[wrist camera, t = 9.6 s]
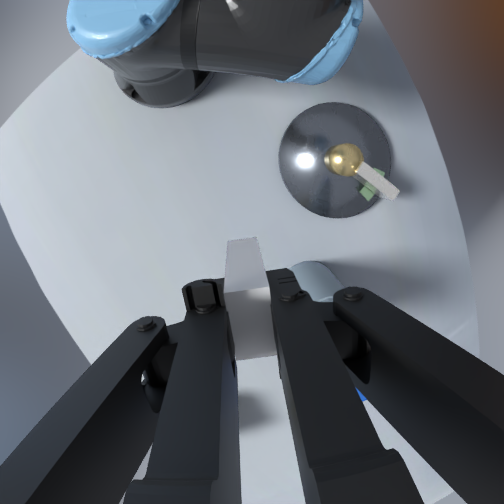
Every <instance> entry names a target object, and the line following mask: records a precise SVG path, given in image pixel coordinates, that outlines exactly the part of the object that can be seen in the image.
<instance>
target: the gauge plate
mask: <svg viewBox="0 0 504 504" xmlns="http://www.w3.org/2000/svg"><path fill="white" fill-rule="evenodd" d="M345 143H350V144H354V145H356V146H357V147H358V148H359V149H360V150H361V152H362V154H363V157H364V162H365V163H366V164H367V165H369V166H370V167H371V168H373V169H374V170H375V171H376V172H378V173H379V174H380V175H381V176H383V177H384V178H385V179H386V180H388V178H389V174H390V167H391V158H390V151H389V147H388V143H387V141H386V138H385V136H384V134H383V132H382V130H381V129H380V127H379V126H378V125H377V123H376V122H375V121H374V120H373V119H372V118H371V117H370V116H369V115H367V114H366V113H365V112H363V111H362V110H360V109H358V108H356V107H354V106H351V105H348V104H344V103H336V102H331V103H323V104H318V105H315V106H312V107H311V108H309V109H307V110H305V111H304V112H302V113H301V114H299V115H298V116H297V117H296V118H295V119H294V120H293V121H292V122H291V123H290V125H289V126H288V128H287V129H286V131H285V133H284V135H283V137H282V140H281V144H280V148H279V168H280V173H281V176H282V179H283V181H284V184H285V186H286V188H287V189H288V191H289V192H290V194H291V195H292V196H293V198H294V199H295V200H296V201H297V202H298V203H300V204H301V205H302V206H303V207H305V208H306V209H308V210H310V211H311V212H313V213H315V214H318V215H320V216H324V217H329V218H346V217H350V216H354V215H357V214H359V213H361V212H363V211H365V210H366V209H368V208H369V207H370V206H371V205H373V204H374V203H375V202H376V201H377V199H378V198H379V196H377V195H376V194H375V193H374V192H372V191H371V190H370V189H368V188H367V187H366V186H364V185H363V184H362V183H360V182H359V181H358V180H356V179H355V178H354V177H352V176H341V175H335V174H333V173H331V172H330V171H329V170H328V169H327V167H326V165H325V161H324V158H325V154H326V152H327V150H328V149H329V148H330V147H332V146H334V145H338V144H345Z"/></svg>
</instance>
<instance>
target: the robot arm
mask: <svg viewBox="0 0 504 504" xmlns="http://www.w3.org/2000/svg"><path fill="white" fill-rule="evenodd" d="M362 16H363V0H70V2H69V5H68V9H67V27H68V30H69V33H70V35H71V37H72V38H73V39H74V41H75V42H76V43H77V44H78V45H80V47H81V48H82V50H83V51H84V52H85V53H86V54H88V55H90V56H91V57H92V56H93V57H94V58H96V59H98V60H99V61H101V62H102V63H104V64H105V65H106V66H108V67H109V68H111V69H112V70H113V71H114V76H115V79H116V82H117V84H118V86H119V87H120V89H121V90H122V91H123V92H124V93H125V94H126V95H127V96H128V97H129V98H131V99H132V100H134V101H136V102H137V103H139V104H141V105H144V106H148V107H152V108H168V107H173V106H177V105H180V104H182V103H185V102H187V101H189V100H190V99H192V98H194V97H195V96H196V95H198V94H199V93H200V92H201V91H202V90H203V89H204V88H205V87H206V86H207V85H208V83H209V82H210V80H211V79H212V77H213V75H214V72H224V73H233V74H242V75H250V76H257V77H264V78H271V79H275V80H276V81H277V82H281V83H284V82H295V83H302V84H308V85H315V84H320V83H323V82H326V81H327V80H329V79H330V78H332V77H333V76H334V75H335V74H336V73H337V72H338V71H339V69H340V68H341V67H342V65H343V64H344V63H345V61H346V59H347V58H348V56H349V54H350V52H351V50H352V48H353V46H354V44H355V41H356V39H357V36H358V33H359V30H358V26H359V24H360V23H361V21H362ZM182 293H183V297H184V302H185V306H186V310H187V312H186V316H185V319H184V321H182V322H179V323H176V324H173V325H169V326H166V323H165V320H164V319H163V318H161V317H157V316H151V317H150V316H146V317H145V318H144V317H142V318H140V319H139V320H137V321H134V322H133V323H132V324H130V325H129V326H128V327H127V328H126V329H125V330H124V332H123V333H122V334H121V335H120V336H119V337H118V338H117V339H116V340H115V341H114V342H113V343H112V344H111V345H110V346H109V347H108V348H107V349H106V350H105V351H104V352H103V353H102V354H101V355H100V357H99V358H98V359H97V360H96V361H95V362H94V363H93V364H92V365H91V366H90V367H89V368H88V369H87V370H86V371H85V372H84V373H83V375H82V376H81V377H80V378H79V379H78V380H77V381H76V382H75V383H74V384H73V385H72V386H71V387H70V389H69V390H68V391H67V392H66V393H65V394H64V395H63V396H62V397H61V398H60V399H59V401H58V402H57V403H56V404H55V405H54V406H53V407H52V408H51V409H50V410H49V411H48V413H47V414H46V415H45V416H44V417H43V418H42V419H41V420H40V421H39V423H38V424H37V425H36V426H35V427H34V428H33V429H32V430H31V432H30V433H29V434H28V435H27V436H26V437H25V438H24V440H23V441H22V442H21V443H20V444H19V445H18V446H17V448H16V449H15V450H14V451H13V452H12V453H11V454H10V456H9V457H8V458H7V459H6V460H5V461H4V463H3V464H2V465H1V466H0V504H119V502H120V500H121V499H122V497H123V495H124V493H125V492H126V494H125V497H124V502H123V504H242V500H241V476H240V449H239V418H238V382H237V365H236V361H238V360H246V359H253V358H261V357H268V356H274V355H277V357H278V365H279V374H280V379H282V384H283V389H284V394H285V400H286V405H287V410H288V415H289V420H290V425H291V430H292V435H293V440H294V445H295V450H296V456H297V461H298V466H299V471H300V476H301V481H302V486H303V492H304V497H305V502H306V504H424V502H423V500H422V498H421V496H420V494H419V491H418V489H417V487H416V485H415V483H414V481H413V479H412V477H411V475H410V472H409V470H408V468H407V466H406V464H405V462H404V460H403V458H402V457H401V455H400V454H399V452H398V451H396V450H395V449H394V448H392V449H389V450H386V449H385V448H384V447H383V445H382V443H381V441H380V439H379V437H378V435H377V432H376V430H375V428H374V426H373V424H372V422H371V419H370V417H369V415H368V413H367V411H366V409H365V407H364V404H363V402H362V400H361V398H360V396H359V394H358V392H357V390H356V388H357V389H358V390H359V391H360V392H361V394H362V395H363V396H364V397H365V398H366V399H367V400H368V401H369V402H370V403H371V404H372V405H373V406H374V407H375V408H376V409H377V410H378V412H379V413H380V414H381V415H382V416H383V417H384V418H385V419H386V420H387V421H388V422H389V423H390V424H391V425H392V426H393V427H394V428H395V429H396V431H397V432H398V433H399V434H400V435H401V436H402V437H403V438H404V439H405V440H406V441H407V442H408V443H409V444H410V445H411V446H412V447H413V448H414V449H415V450H416V451H417V452H418V453H419V455H420V456H421V457H422V458H423V459H424V460H425V461H426V462H427V463H428V464H429V465H430V466H431V467H432V468H433V469H434V470H435V471H436V472H437V473H438V474H439V475H440V476H441V477H442V478H443V479H444V480H445V481H446V482H447V483H448V484H449V485H450V486H451V488H452V489H453V490H454V491H455V492H456V493H457V494H458V495H459V496H460V497H462V498H463V500H464V501H465V502H466V503H467V504H504V375H503V374H501V373H500V372H498V371H497V370H495V369H494V368H492V367H490V366H489V365H488V364H486V363H484V362H483V361H481V360H480V359H478V358H477V357H475V356H474V355H472V354H471V353H469V352H467V351H466V350H464V349H463V348H461V347H460V346H458V345H456V344H455V343H453V342H452V341H450V340H449V339H447V338H445V337H444V336H442V335H441V334H439V333H437V332H436V331H434V330H433V329H431V328H429V327H428V326H426V325H425V324H423V323H421V322H420V321H418V320H417V319H415V318H413V317H412V316H410V315H408V314H407V313H405V312H404V311H402V310H400V309H399V308H397V307H395V306H394V305H392V304H391V303H389V302H387V301H386V300H384V299H382V298H381V297H379V296H377V295H376V294H374V293H372V292H371V291H369V290H367V289H364V288H358V287H347V288H344V289H341V290H339V291H337V292H335V293H334V295H333V302H318V301H313V300H312V298H311V296H310V294H309V293H308V292H307V291H305V290H302V289H301V287H300V285H299V283H298V281H297V279H296V277H295V275H294V273H293V271H291V270H289V269H287V268H284V269H277V270H270V271H265V268H264V264H263V260H262V256H261V252H260V248H259V244H258V240H257V237H253V238H246V239H239V240H232V241H228V244H227V256H226V268H225V278H220V279H201V280H197V281H193V282H191V283H188V284H187V285H185V286H184V287H183V288H182ZM235 356H236V360H235ZM142 374H143V376H144V378H145V379H144V380H143V382H142V383H141V378H142ZM355 387H356V388H355ZM152 443H153V445H152ZM151 445H152V449H151V454H150V458H149V463H148V467H147V472H146V475H145V477H144V478H143V480H133V481H132V479H133V477H134V475H135V474H136V472H137V470H138V468H139V466H140V465H141V463H142V461H143V459H144V457H145V456H146V454H147V452H148V450H149V448H150V446H151ZM131 481H132V482H131Z"/></svg>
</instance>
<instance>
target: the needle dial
mask: <svg viewBox="0 0 504 504" xmlns="http://www.w3.org/2000/svg"><path fill="white" fill-rule="evenodd" d="M324 161H325V165H326V167H327V169H328V170H329V171H330V172H331V173H333V174H335V175H341V176H352V177H354V178H355V179H356V180H358V181H359V182H360V183H362V184H363V185H364V186H366V187H367V188H368V189H370V190H371V191H372V192H374V193H375V194H376V195H377V196H379V197H380V198H383V199H386V200H390V201H393V202H394V200H395V198H396V197H397V195H398V193H399V192H400V190H399V189H397V188H396V187H395V186H394V185H393V184H391V183H390V182H389V181H388V180H386V179H385V178H384V177H383V176H381V175H380V174H379V173H378V172H376V171H375V170H374V169H373V168H371V167H370V166H369V165H367V164H366V163H365V162H364V157H363V154H362V152H361V150H360V149H359V148H358V147H357V146H356V145H354V144H350V143H345V144H338V145H334V146H332V147H330V148H329V149H328V150H327V152H326V154H325V158H324Z"/></svg>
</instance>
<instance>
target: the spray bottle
mask: <svg viewBox="0 0 504 504" xmlns="http://www.w3.org/2000/svg"><path fill="white" fill-rule="evenodd" d="M289 270H291V271H293V273H294V275H295V277H296V279H297V281H298V283H299V285H300V287H301V289H302V290H305V291H307V292H308V293H309V294H310V296H311V298H312V300H313V301H318V302H333V295H334V293H335V292H337V291H339V290H341V289H344V288H345V287H344V286H343V285H342V284H341V283H340V282H339V280H338V279H337V278H336V277H335V276H334V275H333V273H332V272H331V271H330V270H329V269H328V268H327V267H326V266H324V265H323V264H321V263H318V262H314V261H306V262H301V263H299V264H296V265H294V266H293V267H292V268H290V269H289ZM355 388H356V387H355ZM356 390H357V392H358V394H359V396H360V398H361V400H362V401H365V400H367V399H366V398H365V397H364V396H363V395H362V394H361V392H360V391H359V390H358V389H357V388H356Z"/></svg>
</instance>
